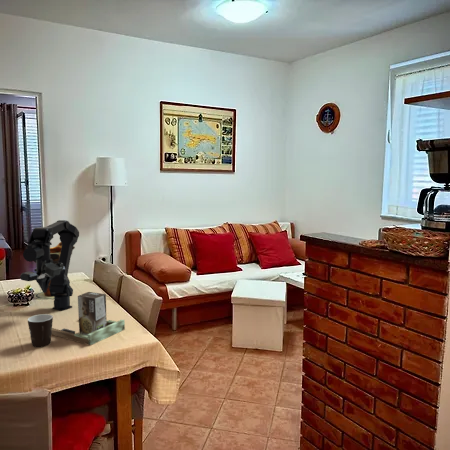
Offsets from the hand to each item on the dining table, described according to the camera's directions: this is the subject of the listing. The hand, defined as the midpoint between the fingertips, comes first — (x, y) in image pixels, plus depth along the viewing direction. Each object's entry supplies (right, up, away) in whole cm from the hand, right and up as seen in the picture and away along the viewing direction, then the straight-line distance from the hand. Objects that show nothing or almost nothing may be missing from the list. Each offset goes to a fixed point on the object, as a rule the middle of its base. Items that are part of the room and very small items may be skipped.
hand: (44, 292), depth 180 cm
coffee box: (+26, -14, -15) cm, 33 cm away
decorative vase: (-13, -8, +39) cm, 42 cm away
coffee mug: (+10, -16, -26) cm, 32 cm away
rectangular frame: (+22, -14, -12) cm, 29 cm away
